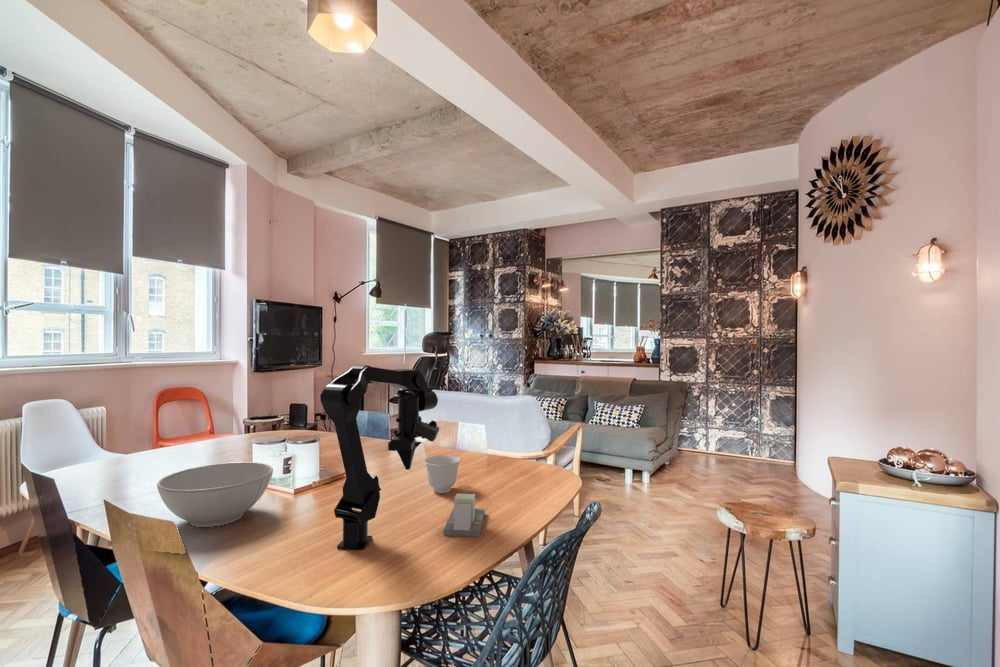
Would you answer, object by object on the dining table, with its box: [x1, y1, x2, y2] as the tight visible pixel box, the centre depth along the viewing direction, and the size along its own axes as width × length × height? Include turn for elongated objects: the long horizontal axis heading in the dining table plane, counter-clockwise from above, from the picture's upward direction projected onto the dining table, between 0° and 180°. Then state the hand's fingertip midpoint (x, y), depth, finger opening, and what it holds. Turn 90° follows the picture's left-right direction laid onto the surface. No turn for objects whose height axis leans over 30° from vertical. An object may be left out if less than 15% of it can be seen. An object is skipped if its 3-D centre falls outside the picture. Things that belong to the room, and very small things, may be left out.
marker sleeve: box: [453, 493, 476, 523], centre depth 118 cm, size 4×5×6 cm
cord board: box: [443, 504, 486, 538], centre depth 120 cm, size 15×9×7 cm, turn 177°
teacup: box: [423, 454, 462, 494], centre depth 149 cm, size 12×15×10 cm
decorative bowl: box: [156, 461, 274, 528], centre depth 122 cm, size 27×27×12 cm
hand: (407, 469), depth 125 cm, fingers closed
